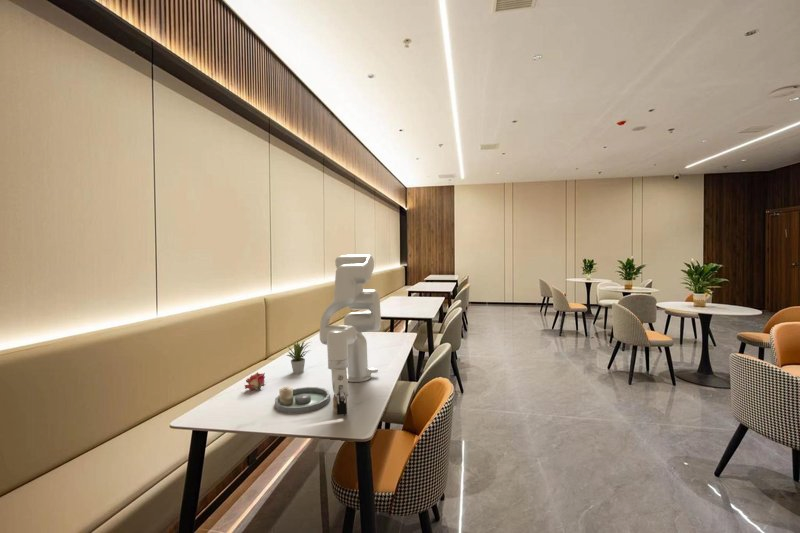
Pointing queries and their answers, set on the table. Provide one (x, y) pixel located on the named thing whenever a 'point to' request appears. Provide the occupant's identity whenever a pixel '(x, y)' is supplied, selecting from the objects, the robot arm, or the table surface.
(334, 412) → the walnut bead
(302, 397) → the groove tray
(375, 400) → the table surface
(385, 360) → the table surface
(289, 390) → the cream pillar candle
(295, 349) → the house plant
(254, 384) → the flower
